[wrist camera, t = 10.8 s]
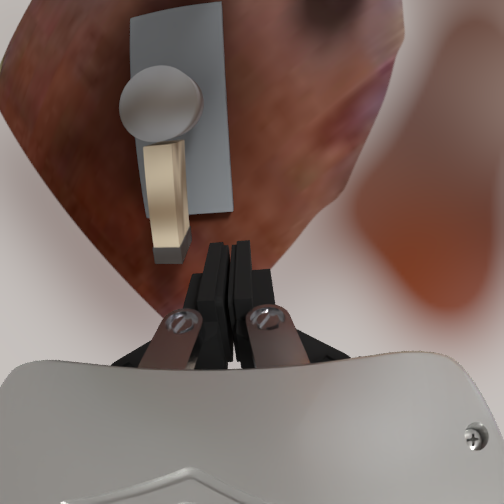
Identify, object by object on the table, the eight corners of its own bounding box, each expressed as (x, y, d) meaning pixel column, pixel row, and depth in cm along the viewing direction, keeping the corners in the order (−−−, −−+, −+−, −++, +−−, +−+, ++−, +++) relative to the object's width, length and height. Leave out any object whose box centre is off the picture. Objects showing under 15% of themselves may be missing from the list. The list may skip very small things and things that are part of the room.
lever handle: (140, 79, 22) (118, 72, 17) (204, 71, 22) (195, 60, 17) (151, 240, 30) (136, 263, 25) (209, 239, 30) (203, 263, 25)
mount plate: (135, 21, 21) (120, 11, 18) (222, 6, 21) (218, -9, 18) (150, 213, 32) (138, 227, 28) (233, 207, 32) (232, 220, 28)
